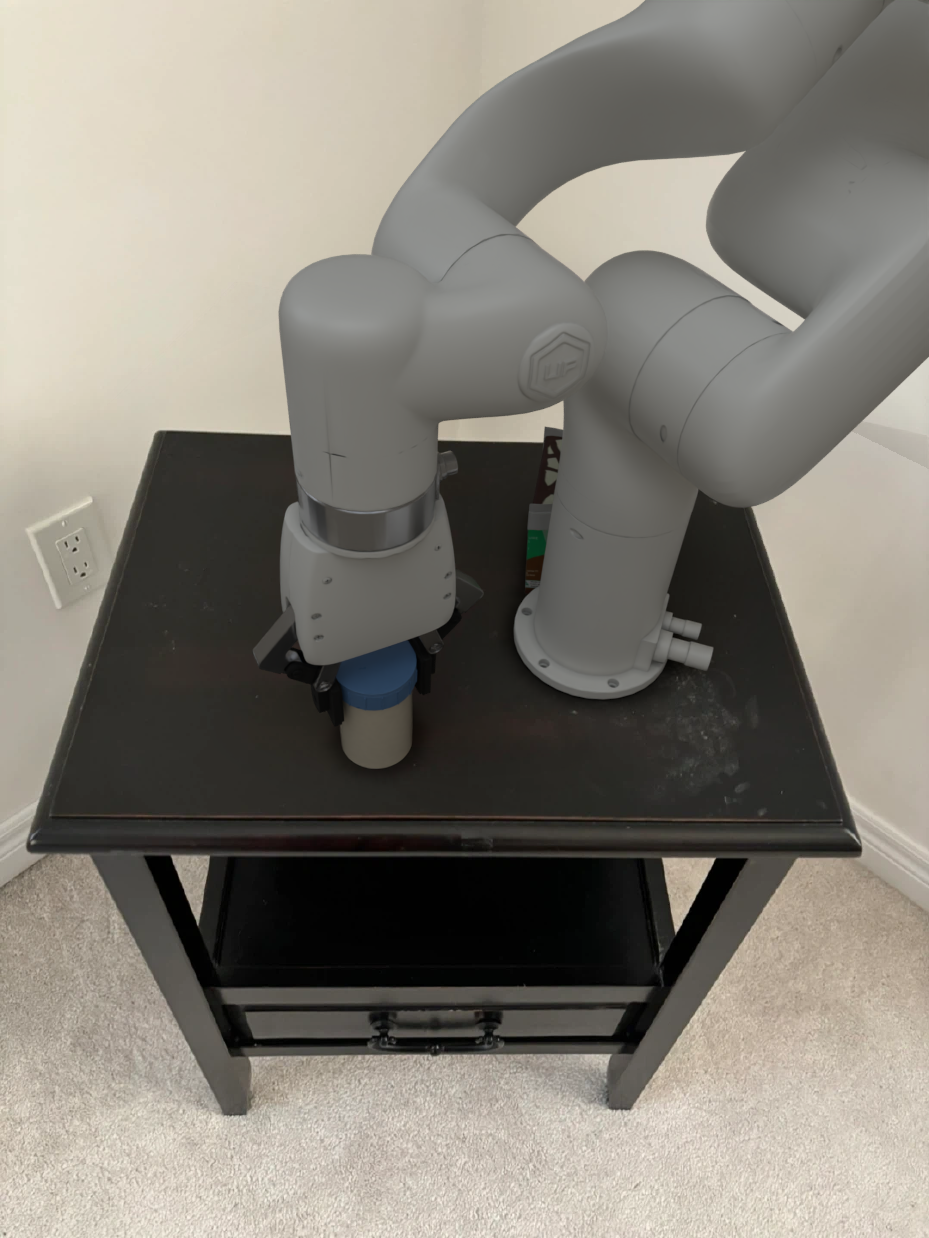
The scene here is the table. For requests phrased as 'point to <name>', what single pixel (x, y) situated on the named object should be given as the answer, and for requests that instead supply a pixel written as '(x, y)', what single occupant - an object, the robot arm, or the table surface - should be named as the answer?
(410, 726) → the jar
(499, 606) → the table surface
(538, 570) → the food container
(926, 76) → the robot arm
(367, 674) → the lid
